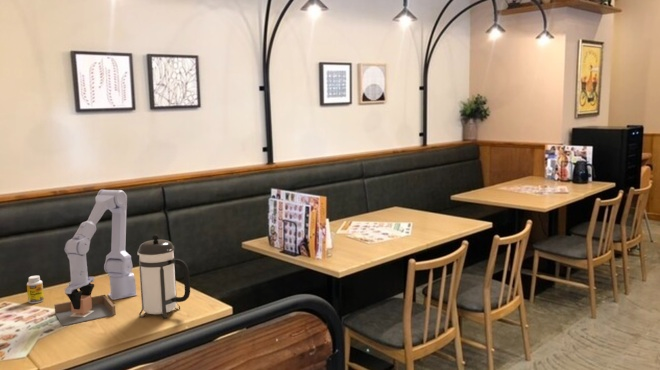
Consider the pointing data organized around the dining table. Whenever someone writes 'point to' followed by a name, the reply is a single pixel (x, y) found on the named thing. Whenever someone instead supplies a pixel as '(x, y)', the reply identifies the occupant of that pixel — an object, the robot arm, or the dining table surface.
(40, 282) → the supplement bottle
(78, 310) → the cube
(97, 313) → the tray
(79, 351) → the dining table surface
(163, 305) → the coffee press
